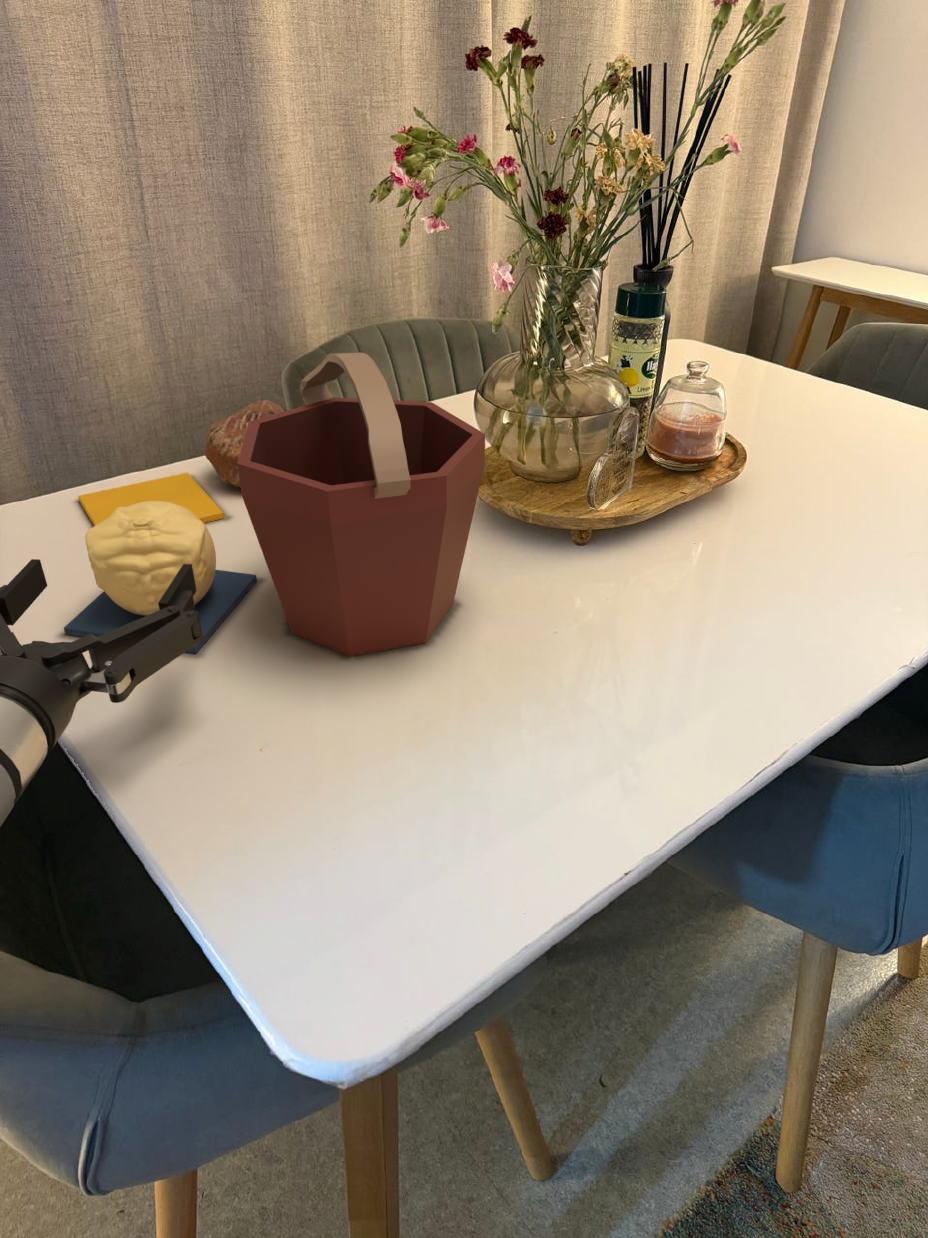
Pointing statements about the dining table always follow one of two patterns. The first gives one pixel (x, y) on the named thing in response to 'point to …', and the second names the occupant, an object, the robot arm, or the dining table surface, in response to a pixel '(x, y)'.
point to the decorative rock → (233, 438)
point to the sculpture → (149, 553)
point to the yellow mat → (152, 498)
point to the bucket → (362, 508)
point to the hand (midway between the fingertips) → (114, 574)
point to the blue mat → (111, 616)
